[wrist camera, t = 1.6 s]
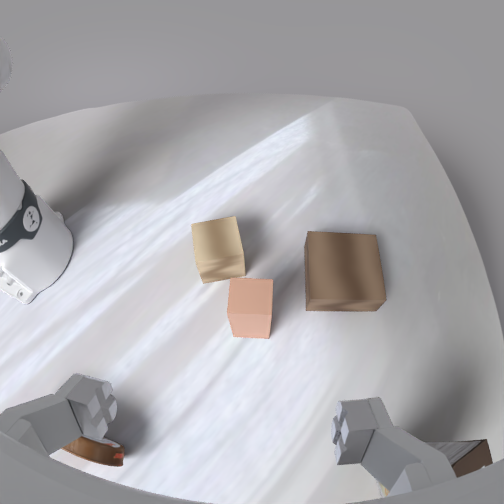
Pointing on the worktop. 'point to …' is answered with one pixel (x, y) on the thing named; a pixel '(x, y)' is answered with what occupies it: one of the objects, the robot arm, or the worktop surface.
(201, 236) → the oak cube
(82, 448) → the tin
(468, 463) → the coffee box
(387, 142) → the worktop surface
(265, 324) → the terracotta block
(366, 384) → the worktop surface
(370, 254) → the walnut block
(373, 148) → the worktop surface
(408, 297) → the worktop surface
